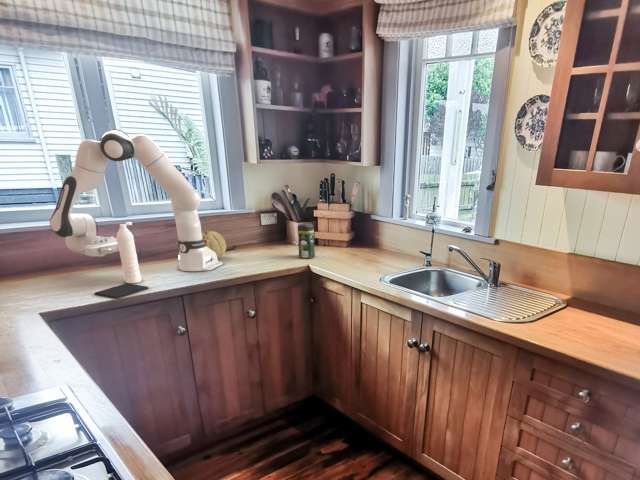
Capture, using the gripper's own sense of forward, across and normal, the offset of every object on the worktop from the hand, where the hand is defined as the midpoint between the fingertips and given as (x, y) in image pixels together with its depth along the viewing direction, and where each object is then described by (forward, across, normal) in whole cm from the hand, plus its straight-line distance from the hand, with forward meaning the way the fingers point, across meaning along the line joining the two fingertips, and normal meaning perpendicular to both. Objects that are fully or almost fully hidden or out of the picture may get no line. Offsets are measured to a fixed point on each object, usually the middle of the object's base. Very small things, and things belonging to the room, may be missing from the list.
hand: (119, 249), depth 205 cm
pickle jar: (+48, +79, +14) cm, 94 cm away
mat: (+14, -14, +13) cm, 24 cm away
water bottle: (+6, 0, +14) cm, 15 cm away
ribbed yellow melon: (+8, +50, +14) cm, 52 cm away
